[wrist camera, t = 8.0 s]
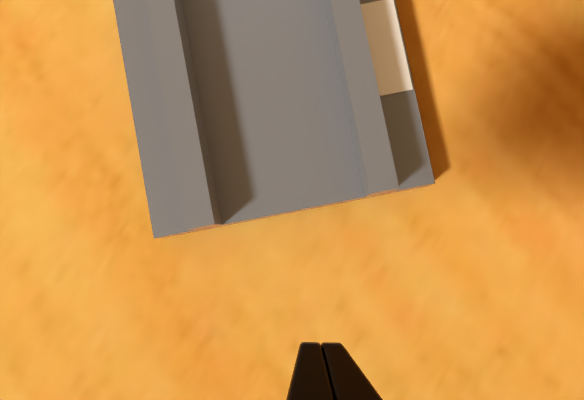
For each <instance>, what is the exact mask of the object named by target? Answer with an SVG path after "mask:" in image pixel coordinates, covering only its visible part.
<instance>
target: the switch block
mask: <svg viewBox="0 0 584 400" xmlns="http://www.w3.org/2000/svg"><path fill="white" fill-rule="evenodd" d="M113 2H114V8H115V13H116V19H117V25H118V31H119V37H120V43H121V48H122V54H123V60H124V66H125V72H126V78H127V84H128V89H129V95H130V101H131V107H132V113H133V119H134V124H135V130H136V136H137V142H138V148H139V154H140V159H141V165H142V171H143V177H144V183H145V189H146V195H147V200H148V206H149V212H150V218H151V224H152V230H153V235H154V238H164V237H169V236H174V235H179V234H184V233H189V232H195V231H200V230H205V229H210V228H215V227H220V226H225V225H230V224H235V223H241V222H246V221H251V220H256V219H261V218H266V217H271V216H276V215H282V214H287V213H292V212H297V211H302V210H307V209H312V208H317V207H322V206H328V205H333V204H338V203H343V202H348V201H353V200H358V199H363V198H369V197H374V196H379V195H384V194H389V193H394V192H399V191H404V190H409V189H415V188H420V187H425V186H429V185H432V184H434V183H435V181H434V176H433V172H432V167H431V163H430V158H429V153H428V149H427V144H426V140H425V135H424V130H423V126H422V121H421V117H420V112H419V108H418V103H417V98H416V94H415V89H414V85H413V80H412V75H411V71H410V66H409V62H408V57H407V53H406V48H405V43H404V39H403V34H402V30H401V25H400V21H399V16H398V11H397V7H396V2H395V0H113Z"/></svg>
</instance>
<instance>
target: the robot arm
mask: <svg viewBox="0 0 584 400" xmlns="http://www.w3.org/2000/svg"><path fill="white" fill-rule="evenodd" d="M286 400H382V398H381V397H380V396H379V394H378V393H377V391H376V390H375V389H374V387H373V386H372V385H371V383H370V382H369V380H368V379H367V378H366V376H365V375H364V374H363V372H362V371H361V370H360V368H359V367H358V365H357V364H356V363H355V361H354V360H353V359H352V357H351V356H350V354H349V353H348V352H347V350H346V349H345V348H344V346H343V345H342V344H340V343H326V342H324V343H322V344H321V345H320V344H319V343H317V342H302V343H301V344H300V347H299V351H298V355H297V359H296V363H295V367H294V371H293V375H292V379H291V383H290V387H289V391H288V395H287V399H286Z"/></svg>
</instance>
